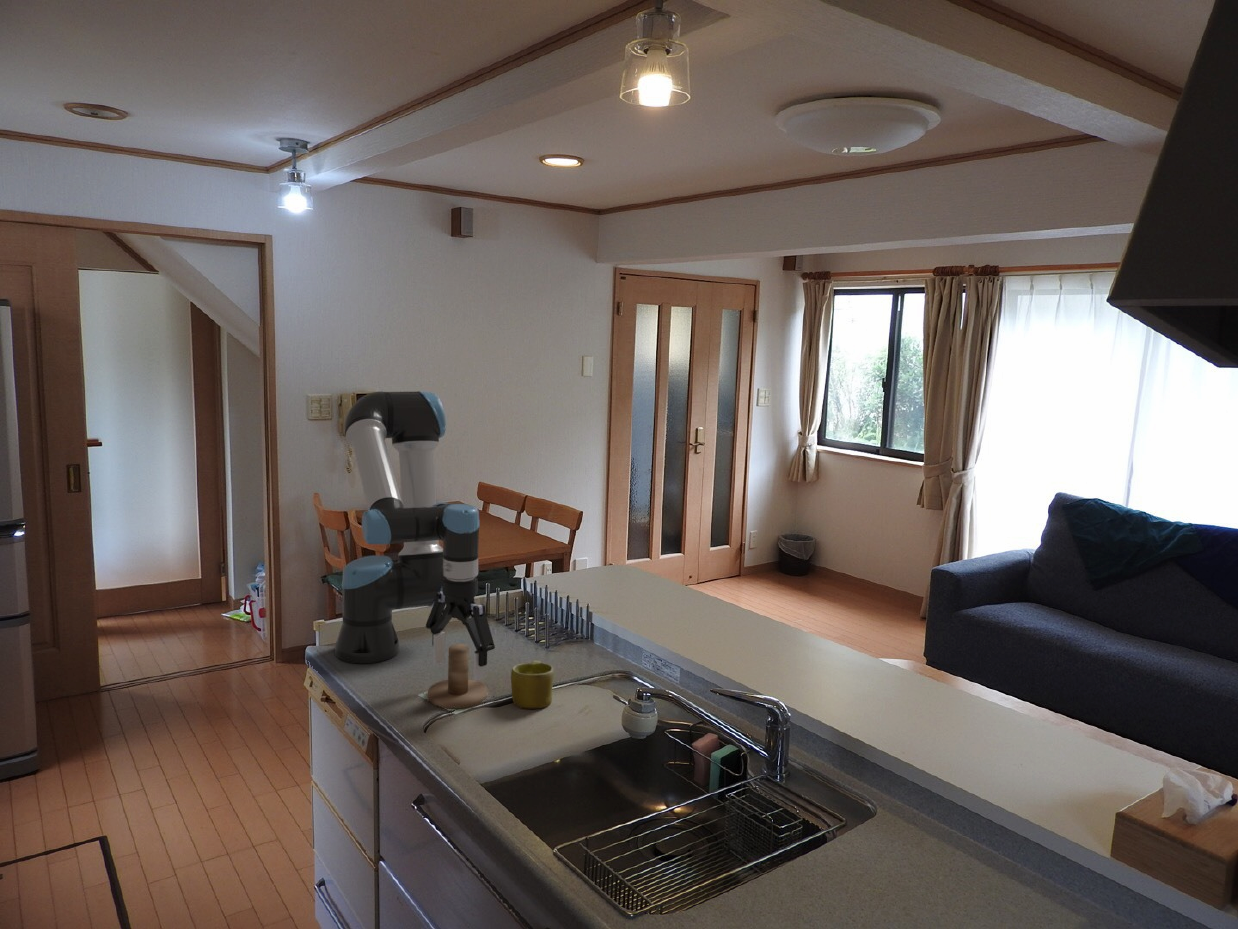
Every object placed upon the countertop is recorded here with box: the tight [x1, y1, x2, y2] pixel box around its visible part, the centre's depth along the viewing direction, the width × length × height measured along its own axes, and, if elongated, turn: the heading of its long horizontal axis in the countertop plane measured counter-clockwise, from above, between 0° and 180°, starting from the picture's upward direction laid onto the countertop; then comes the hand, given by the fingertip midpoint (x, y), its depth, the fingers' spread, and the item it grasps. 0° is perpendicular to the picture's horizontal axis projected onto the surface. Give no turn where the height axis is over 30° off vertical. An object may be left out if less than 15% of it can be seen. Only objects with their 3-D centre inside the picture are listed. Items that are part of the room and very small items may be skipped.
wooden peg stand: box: [427, 643, 489, 709], centre depth 192 cm, size 13×13×11 cm
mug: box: [510, 660, 555, 710], centre depth 193 cm, size 12×10×10 cm
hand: (458, 670), depth 191 cm, fingers open, 13 cm apart
